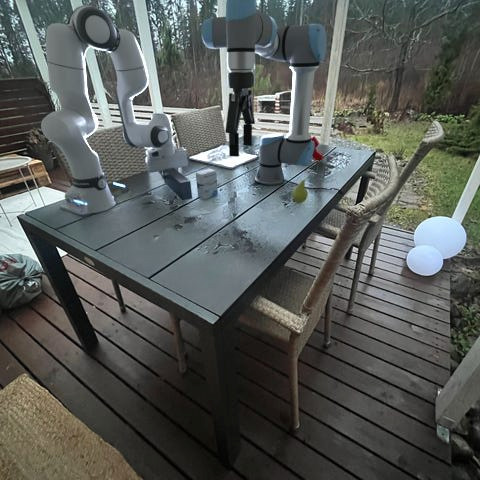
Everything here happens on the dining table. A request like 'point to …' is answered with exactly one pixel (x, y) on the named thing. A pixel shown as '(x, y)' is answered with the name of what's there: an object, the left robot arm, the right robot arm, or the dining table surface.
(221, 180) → the dining table surface
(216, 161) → the relief map
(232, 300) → the dining table surface
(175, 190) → the bar
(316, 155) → the toy gun
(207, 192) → the ink box
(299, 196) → the fruit
